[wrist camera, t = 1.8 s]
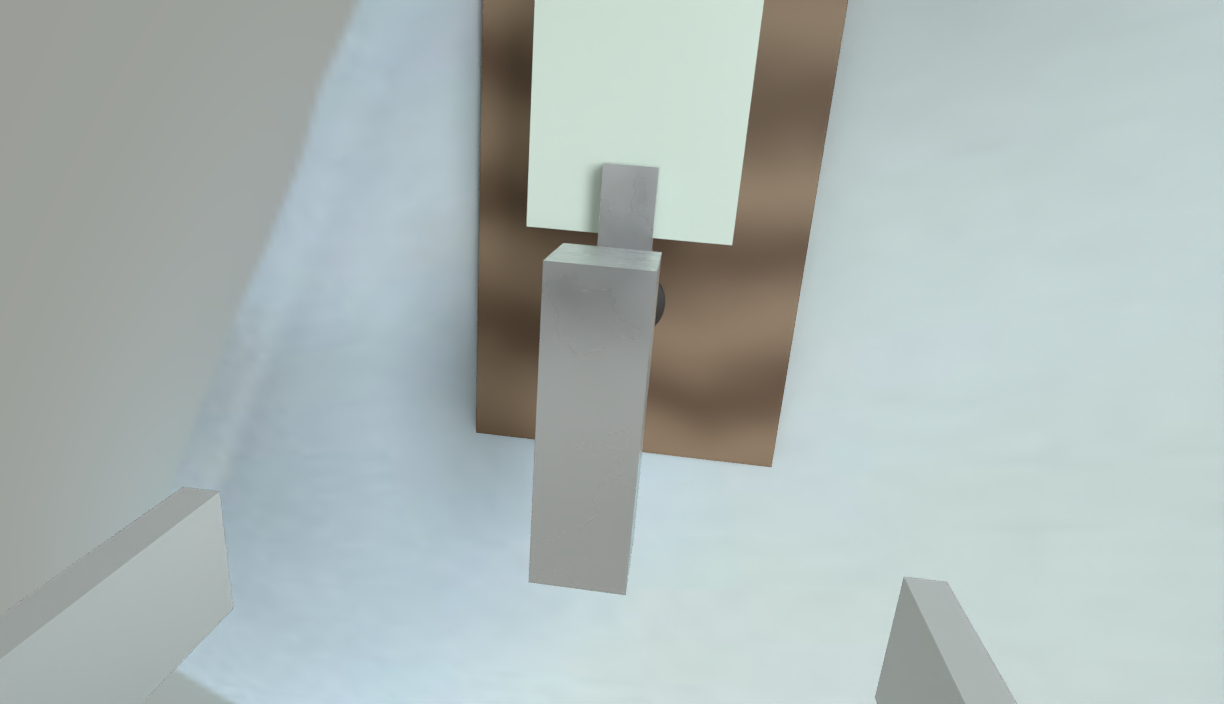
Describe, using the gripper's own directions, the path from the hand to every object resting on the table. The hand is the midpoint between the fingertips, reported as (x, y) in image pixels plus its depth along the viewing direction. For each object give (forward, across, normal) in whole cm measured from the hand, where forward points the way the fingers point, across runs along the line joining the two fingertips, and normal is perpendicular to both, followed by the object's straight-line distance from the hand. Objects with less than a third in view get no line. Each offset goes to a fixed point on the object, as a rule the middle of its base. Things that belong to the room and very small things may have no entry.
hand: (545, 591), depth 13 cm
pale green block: (+24, 0, +10) cm, 25 cm away
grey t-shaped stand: (+23, 0, +1) cm, 23 cm away
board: (+25, 0, +4) cm, 25 cm away
